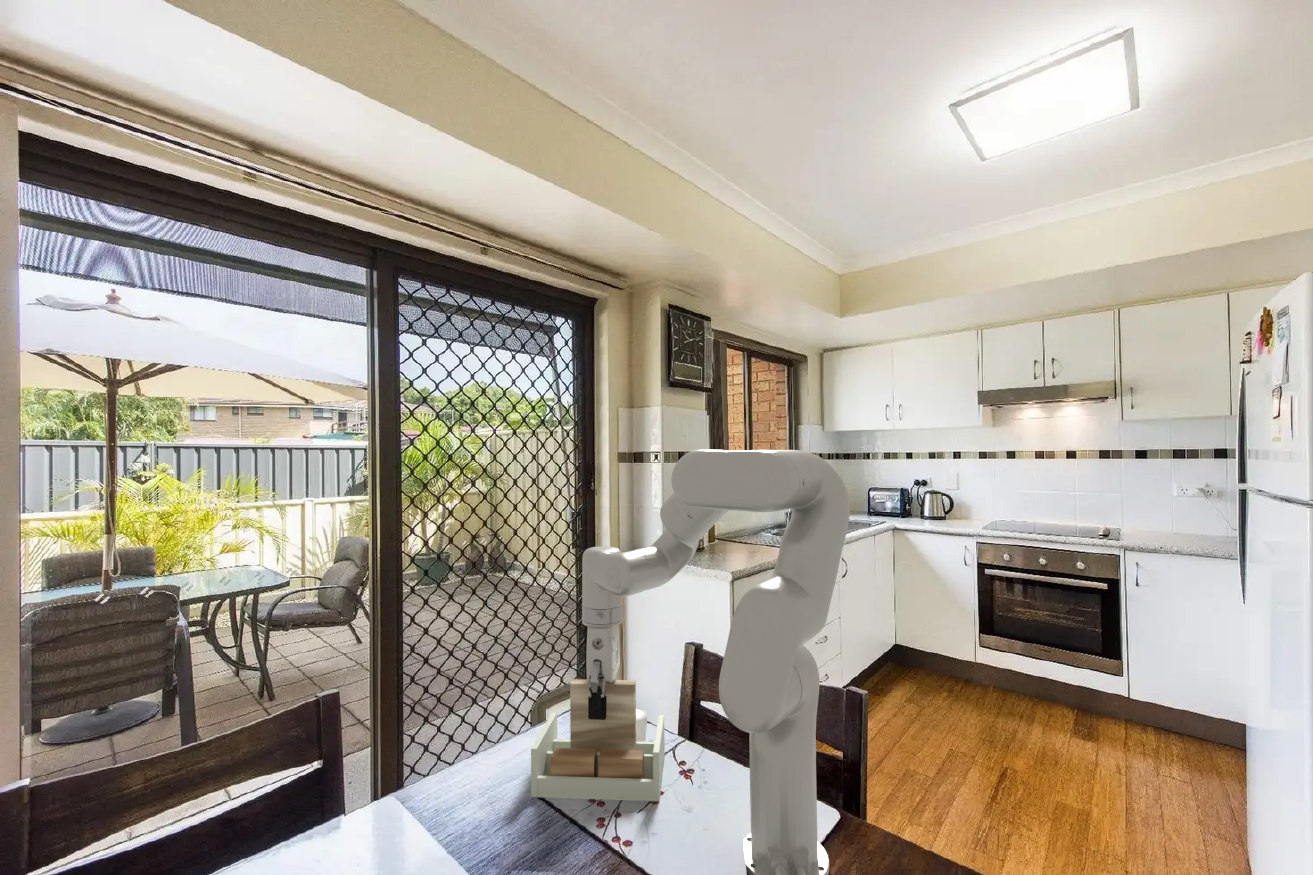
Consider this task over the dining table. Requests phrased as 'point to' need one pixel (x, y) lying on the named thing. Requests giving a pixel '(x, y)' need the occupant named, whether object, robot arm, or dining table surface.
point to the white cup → (641, 724)
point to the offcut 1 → (574, 762)
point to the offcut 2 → (621, 764)
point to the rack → (597, 786)
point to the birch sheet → (619, 720)
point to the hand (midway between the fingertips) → (602, 706)
